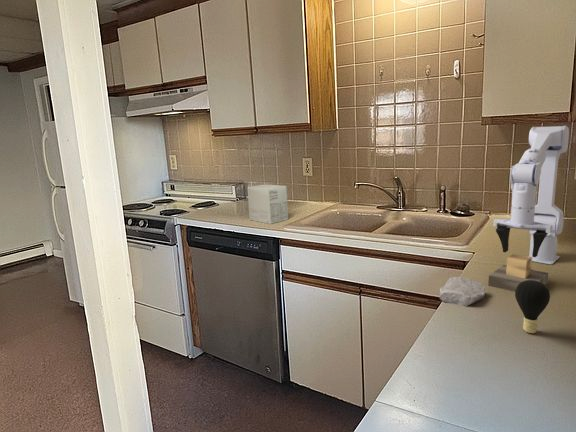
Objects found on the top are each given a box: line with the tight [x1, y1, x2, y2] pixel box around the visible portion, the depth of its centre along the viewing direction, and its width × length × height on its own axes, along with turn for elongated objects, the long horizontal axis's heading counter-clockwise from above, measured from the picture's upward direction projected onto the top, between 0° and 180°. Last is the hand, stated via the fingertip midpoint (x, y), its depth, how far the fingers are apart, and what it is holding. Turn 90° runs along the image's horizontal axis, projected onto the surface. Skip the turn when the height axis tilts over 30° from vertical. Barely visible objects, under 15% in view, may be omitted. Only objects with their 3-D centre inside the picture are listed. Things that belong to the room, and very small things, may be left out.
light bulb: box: [514, 280, 551, 334], centre depth 93 cm, size 7×7×12 cm
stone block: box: [438, 276, 486, 307], centre depth 114 cm, size 12×5×10 cm
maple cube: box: [506, 253, 533, 278], centre depth 120 cm, size 5×5×5 cm
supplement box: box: [247, 183, 289, 225], centre depth 220 cm, size 17×13×18 cm
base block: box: [487, 264, 549, 292], centre depth 120 cm, size 12×12×3 cm
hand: (519, 253), depth 119 cm, fingers open, 7 cm apart
